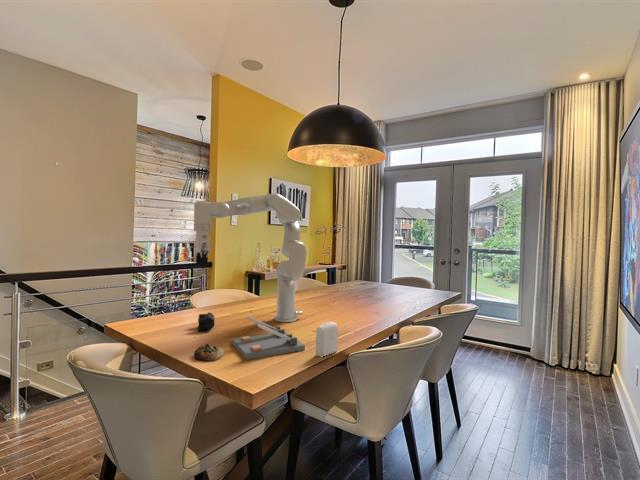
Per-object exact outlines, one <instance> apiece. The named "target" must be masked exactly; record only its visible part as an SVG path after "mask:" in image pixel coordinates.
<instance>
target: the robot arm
mask: <svg viewBox="0 0 640 480" xmlns="http://www.w3.org/2000/svg"><path fill="white" fill-rule="evenodd" d="M193 206H194V207H193V208H194V209H193V232H195V251H196V257H195V264H196V265H199V266H200V267H208V261H209V258H208V254H209V253H211V246H210V245H211V237H210V235H211V234H210V232H212V218H214V219H223V218H226V217H231V216H242V215H243V216H245V215H247V216H248V215H252V214H259V213H265V212H271V211H275V212H276V217H277V219H278V221H279V222H280V223H281V224H282V226H283V229H284V233H283V239H282V247H281V253H282V256H284V258H288V260H286V259H285V260H284V259H283V260H281V261H280V262H279V263H278V264H277V266H276V280H277V289H276V291H277V292H276V293H277V294H276V295H277V296H276V315H273V320H274V321H275V322H280V323H292V322H296V321H297V320H298V316H302V315H304V312H303V310H301V311H299V310H296V308H295V307H296V281H298V280H301V278H302V277H303V275H304V272H305V266H306V260H307V255H308V252H307V251H308V250H307V247H306V244H305V243H303V242H302V241H300V239H301V238H300V237H301V228H300V224H299V221H300V220H301V217H302V215H301V210H300V209H299V207H297V206H296V205H295V204H294V203H292V202H291V201H290V200H289V199H287V198H286V197H284V196H283V195H281V194H279V193H269V194H268V193H267V194H261V195H260V194H259V195H253V196H247V197H245V196H244V197H241V198H237V199H232V200H227V201H206V200H197V201H195V202H194V205H193Z"/></svg>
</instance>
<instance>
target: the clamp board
mask: <svg viewBox="0 0 640 480" xmlns="http://www.w3.org/2000/svg"><path fill="white" fill-rule="evenodd" d="M274 328H276V329H280V330H279V333H281V334H284V335H286V336H288V337H292V338H291V342H290V341H289V340H287V339H284V338H282V337H280V336H277V335H275V334H273V333H270V332H268V333H263V334H256V335H246V336H245V335H244V336H241V337H235V338H234V337H233V338H231V345H232V346H233V347H234V348H235V349H236V350H237V352H238V353H240V354H241V355H242V357H243V358H244V359H245V360H246V361H249V360H255V359H261V358H268V357H273V356H278V355H284V353H285V354H290V352H291V353H296V352H295V351H297V352H302V351H305V350H306V349H305V348H306V345H305V344H304V343H303V342H301V341H299V340H298V337H296V336H294V337H293V334H292V333H288V332H286V331H285V329H284V328H282V329H281V326H279V325H278V326H275V327H274ZM301 350H302V351H301Z"/></svg>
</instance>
